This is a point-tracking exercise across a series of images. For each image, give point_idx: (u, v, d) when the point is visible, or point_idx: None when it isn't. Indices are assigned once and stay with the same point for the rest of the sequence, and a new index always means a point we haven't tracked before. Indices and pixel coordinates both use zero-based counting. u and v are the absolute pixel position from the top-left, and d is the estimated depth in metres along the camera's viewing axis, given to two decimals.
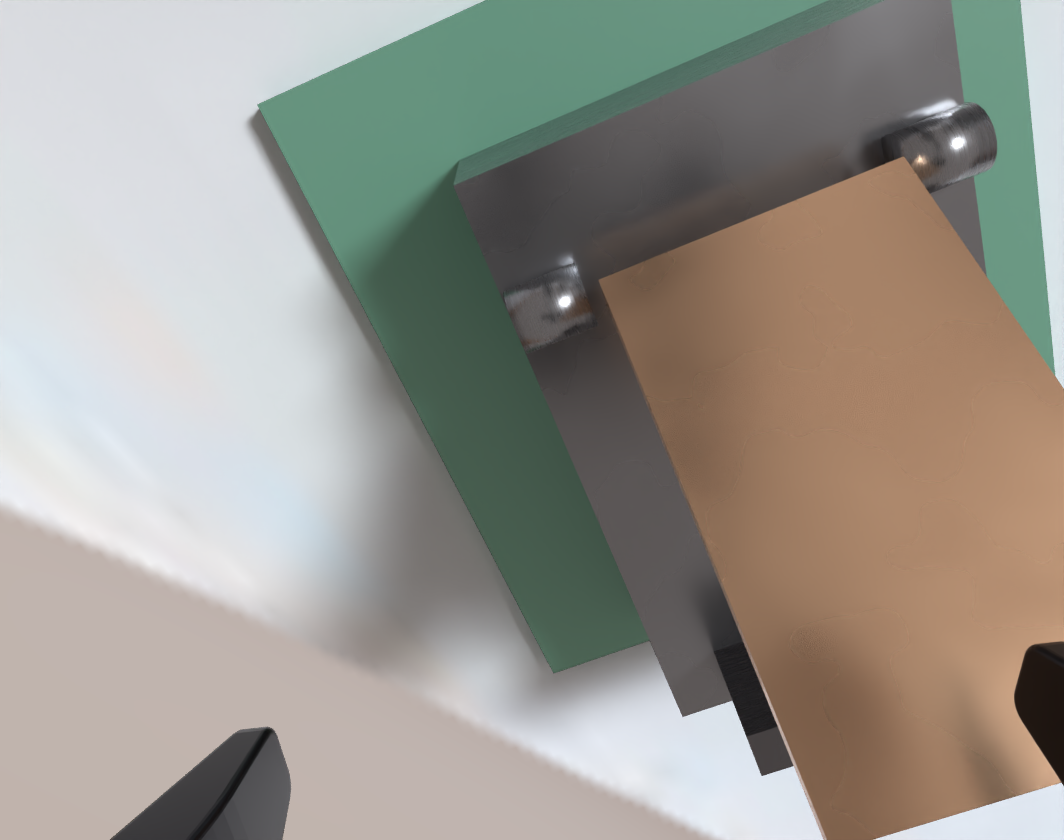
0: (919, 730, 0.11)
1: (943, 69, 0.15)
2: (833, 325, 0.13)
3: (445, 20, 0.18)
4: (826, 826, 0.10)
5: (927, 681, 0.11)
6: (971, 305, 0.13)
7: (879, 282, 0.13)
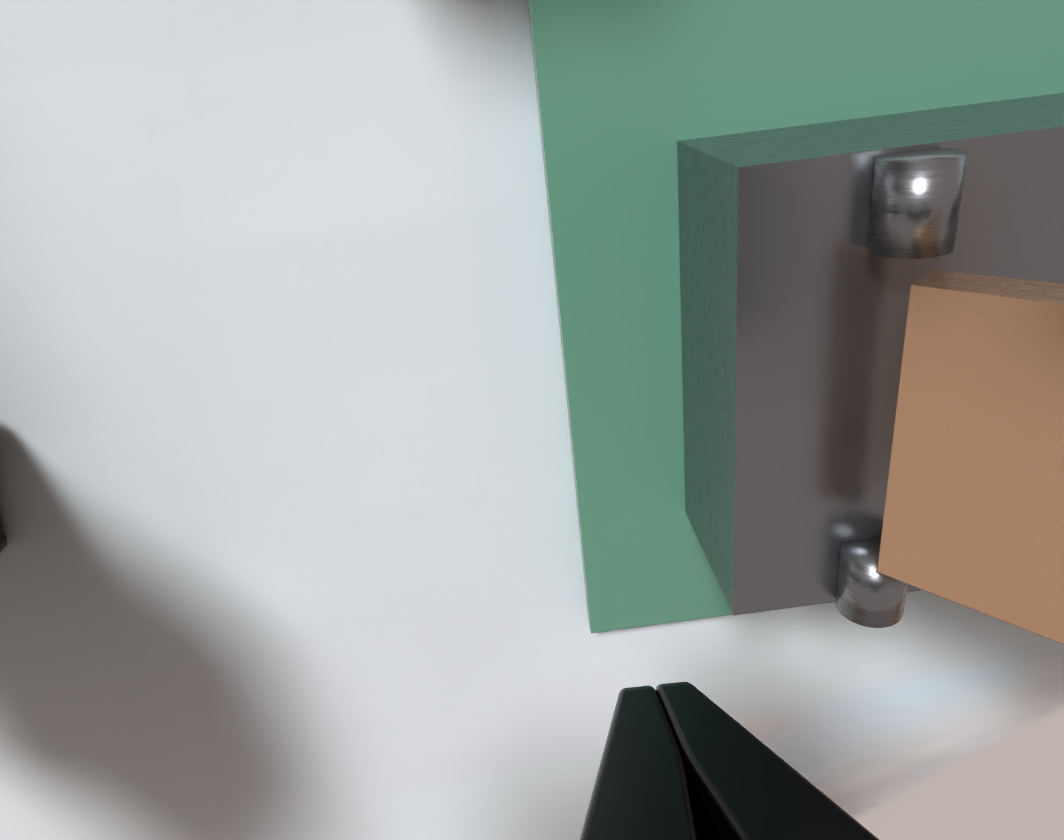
0: None
1: (828, 174, 0.13)
2: None
3: (579, 496, 0.21)
4: None
5: None
6: None
7: (1045, 398, 0.12)
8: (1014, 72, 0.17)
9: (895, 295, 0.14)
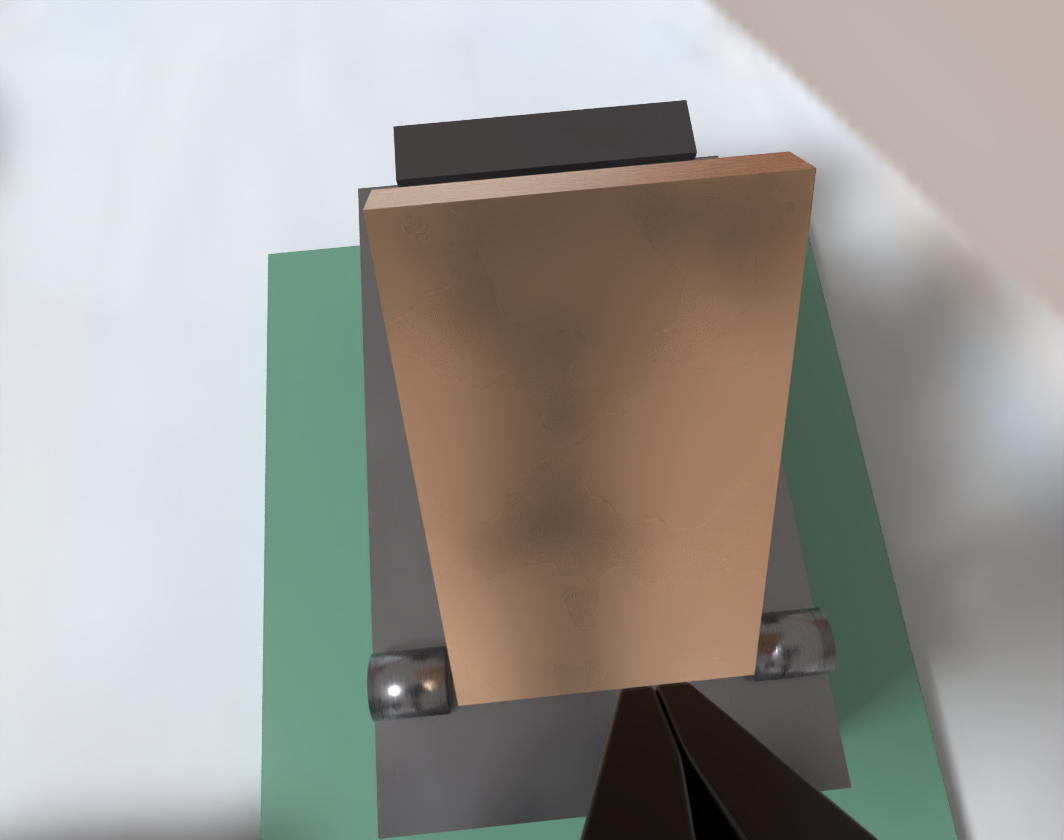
0: (680, 259, 0.10)
1: (389, 753, 0.16)
2: (580, 596, 0.14)
3: None
4: (809, 192, 0.10)
5: (652, 298, 0.11)
6: (461, 585, 0.13)
7: (526, 619, 0.14)
8: None
9: None
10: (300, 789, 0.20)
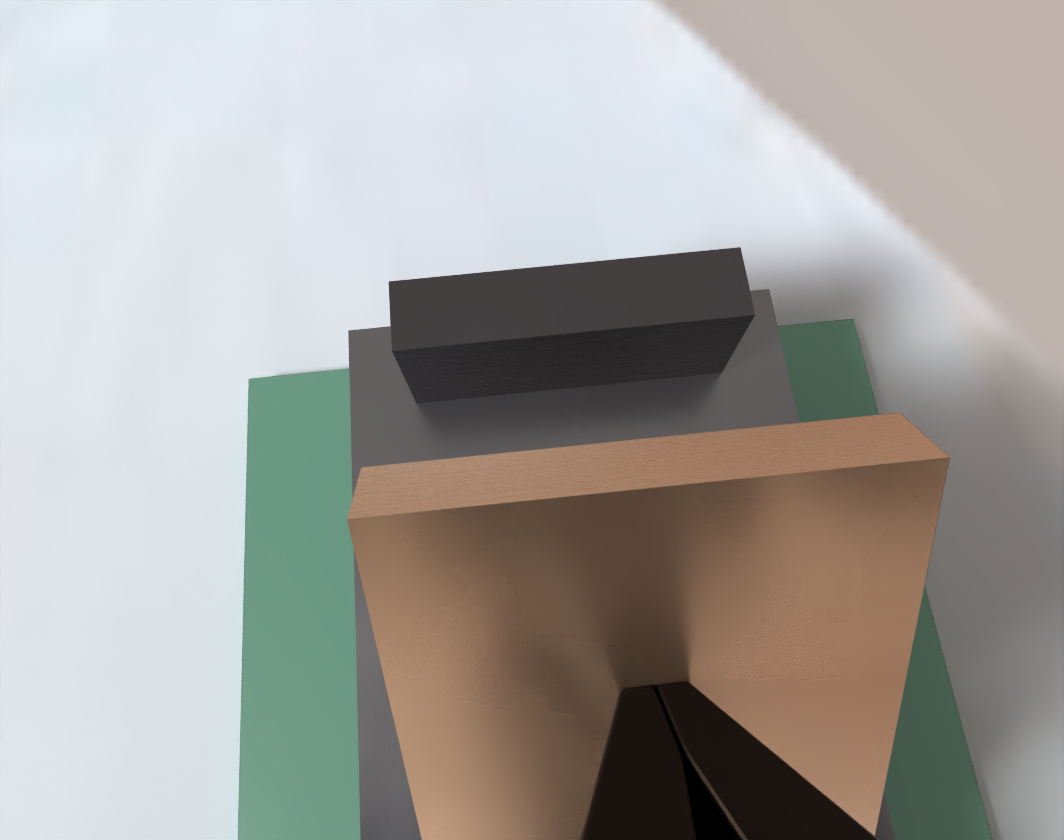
0: (766, 563, 0.08)
1: None
2: None
3: None
4: (939, 485, 0.08)
5: (728, 607, 0.08)
6: None
7: None
8: None
9: None
10: None
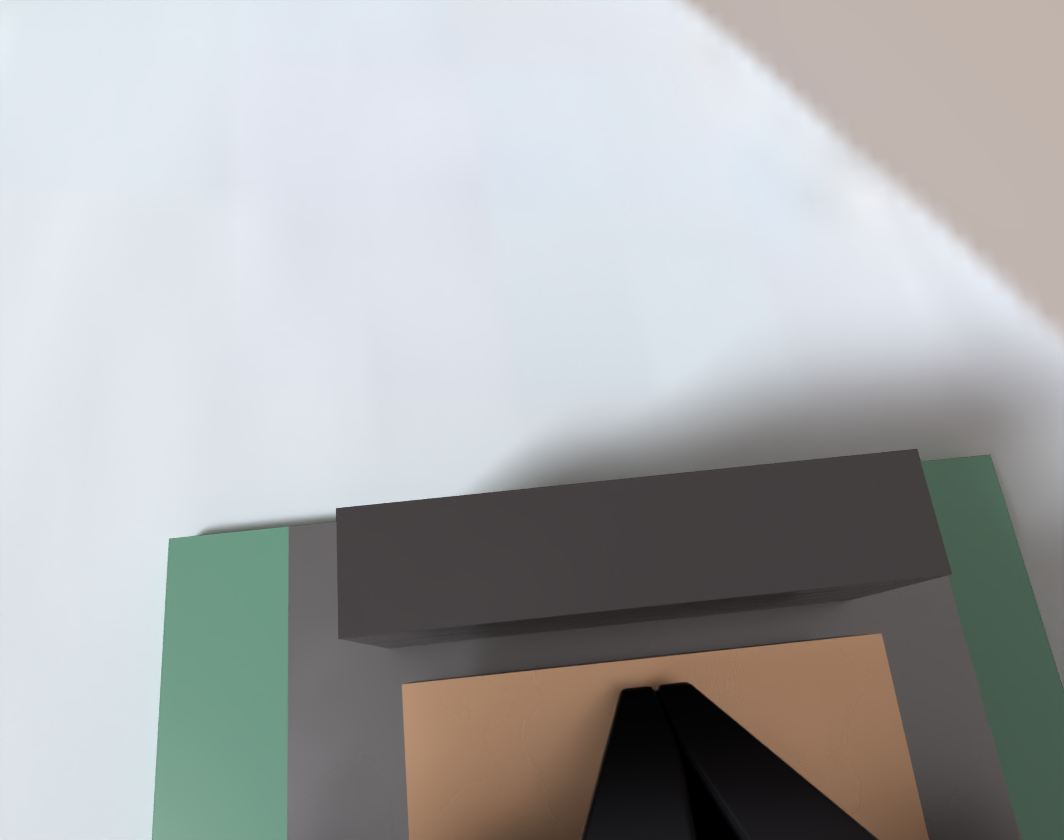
0: None
1: None
2: None
3: None
4: (883, 659, 0.09)
5: None
6: None
7: None
8: None
9: None
10: None
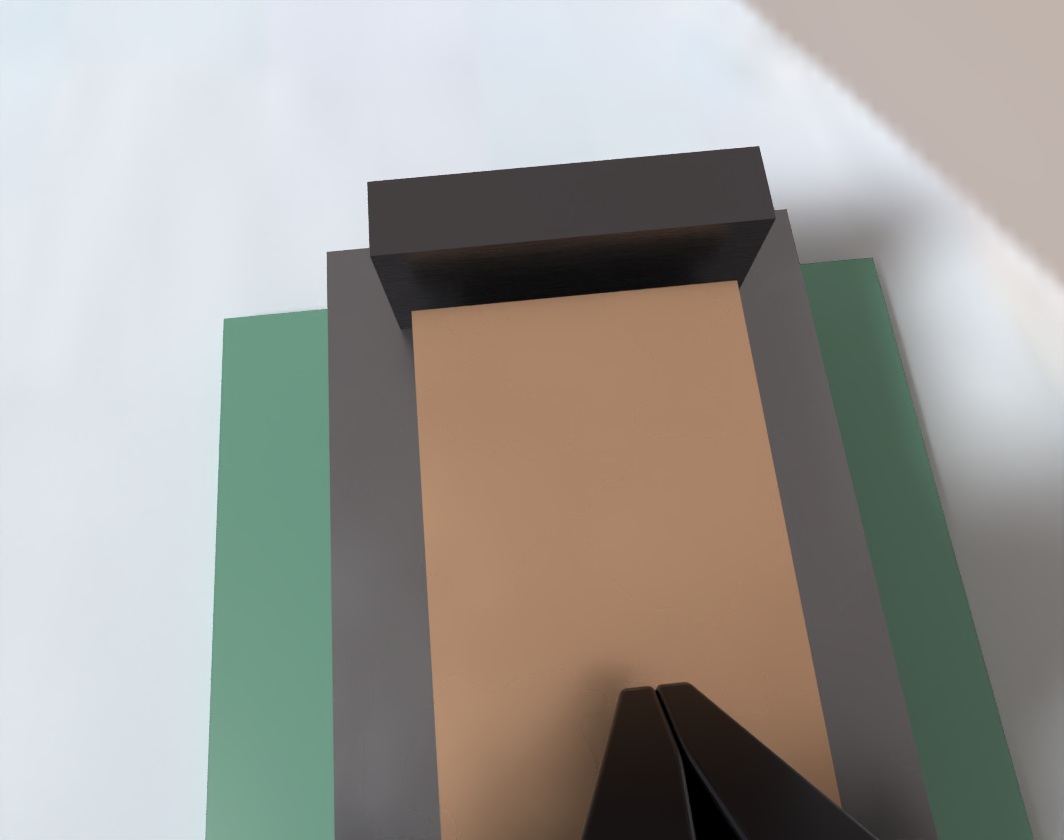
0: (650, 343, 0.13)
1: None
2: (602, 726, 0.12)
3: None
4: (737, 295, 0.14)
5: (632, 374, 0.13)
6: (463, 702, 0.12)
7: (538, 765, 0.11)
8: None
9: None
10: None
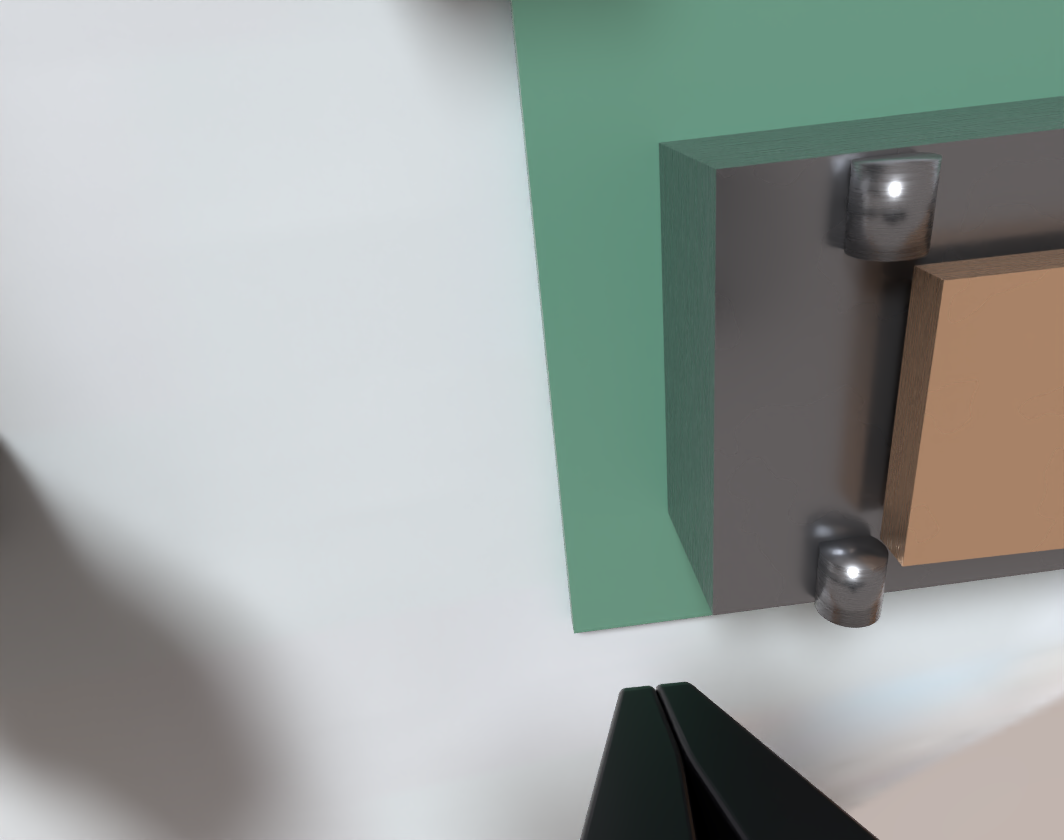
0: None
1: (805, 176, 0.13)
2: None
3: (561, 496, 0.21)
4: None
5: None
6: None
7: (1055, 351, 0.13)
8: (992, 77, 0.17)
9: (872, 298, 0.14)
10: None
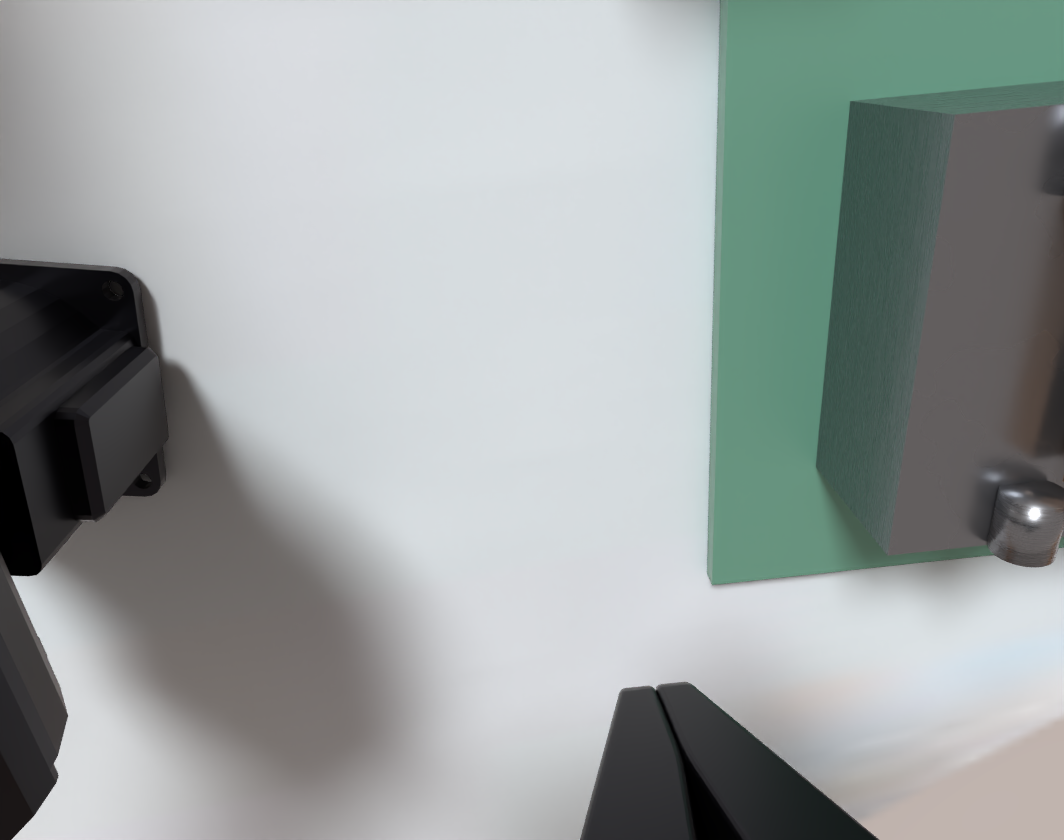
0: None
1: (1037, 124, 0.14)
2: None
3: (716, 447, 0.22)
4: None
5: None
6: None
7: None
8: None
9: None
10: None
